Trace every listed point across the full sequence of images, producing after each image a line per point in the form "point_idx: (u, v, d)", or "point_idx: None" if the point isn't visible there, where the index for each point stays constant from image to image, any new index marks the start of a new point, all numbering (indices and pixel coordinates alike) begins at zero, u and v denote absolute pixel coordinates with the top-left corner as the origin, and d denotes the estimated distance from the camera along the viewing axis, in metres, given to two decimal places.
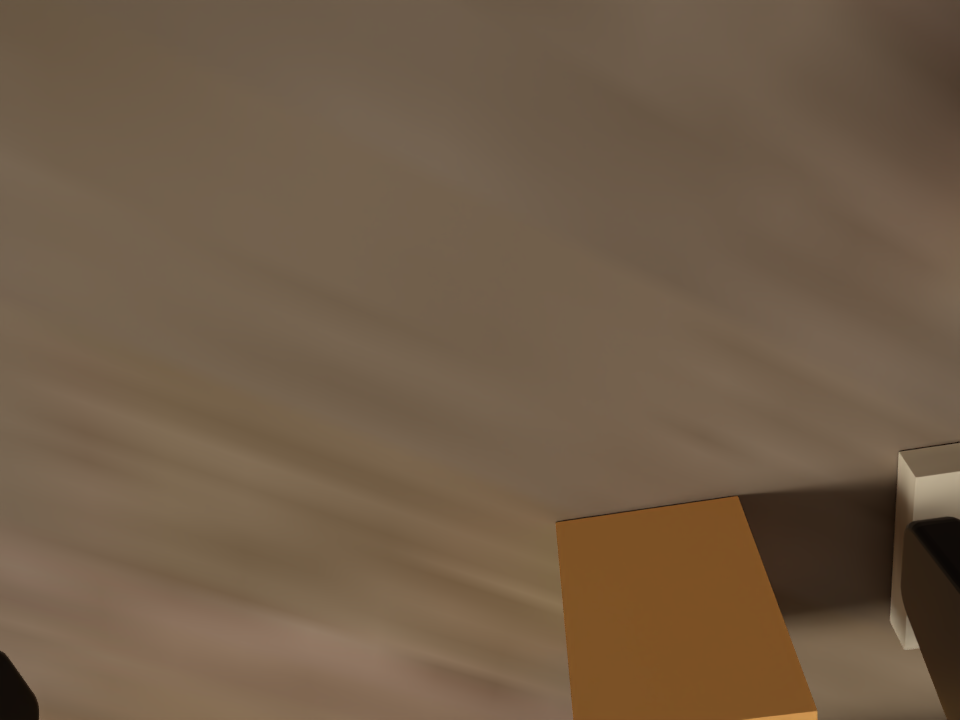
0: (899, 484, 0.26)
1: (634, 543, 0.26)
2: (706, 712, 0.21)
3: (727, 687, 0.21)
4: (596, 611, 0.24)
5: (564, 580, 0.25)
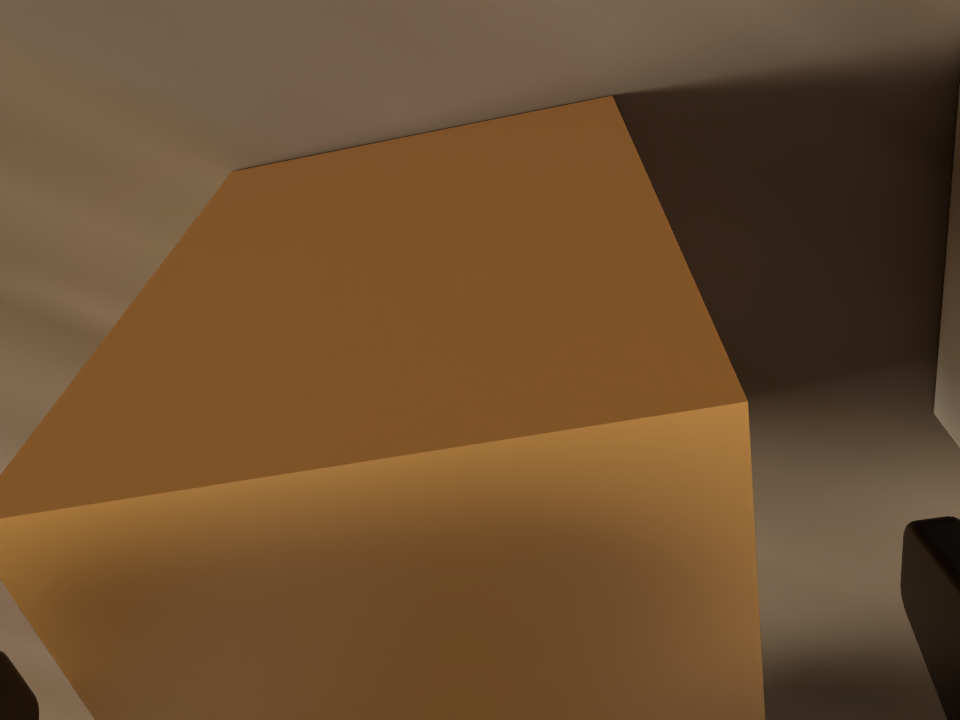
0: None
1: (368, 174, 0.11)
2: (386, 433, 0.06)
3: (474, 373, 0.07)
4: (220, 273, 0.09)
5: (187, 238, 0.11)
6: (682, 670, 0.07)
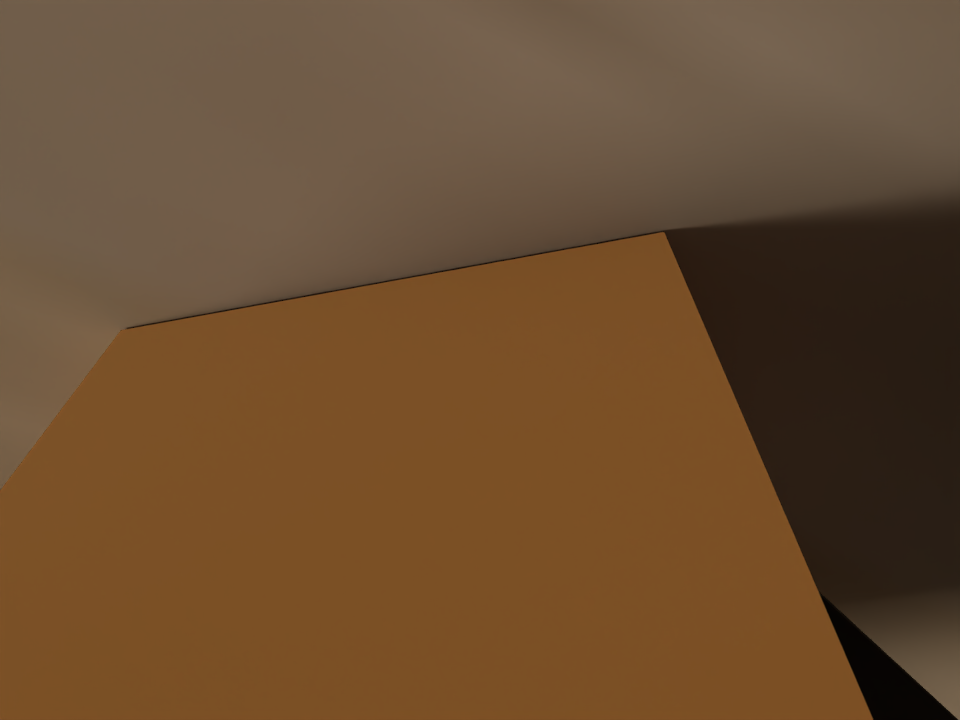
0: None
1: (304, 364, 0.08)
2: None
3: None
4: (34, 591, 0.06)
5: (17, 482, 0.07)
6: None
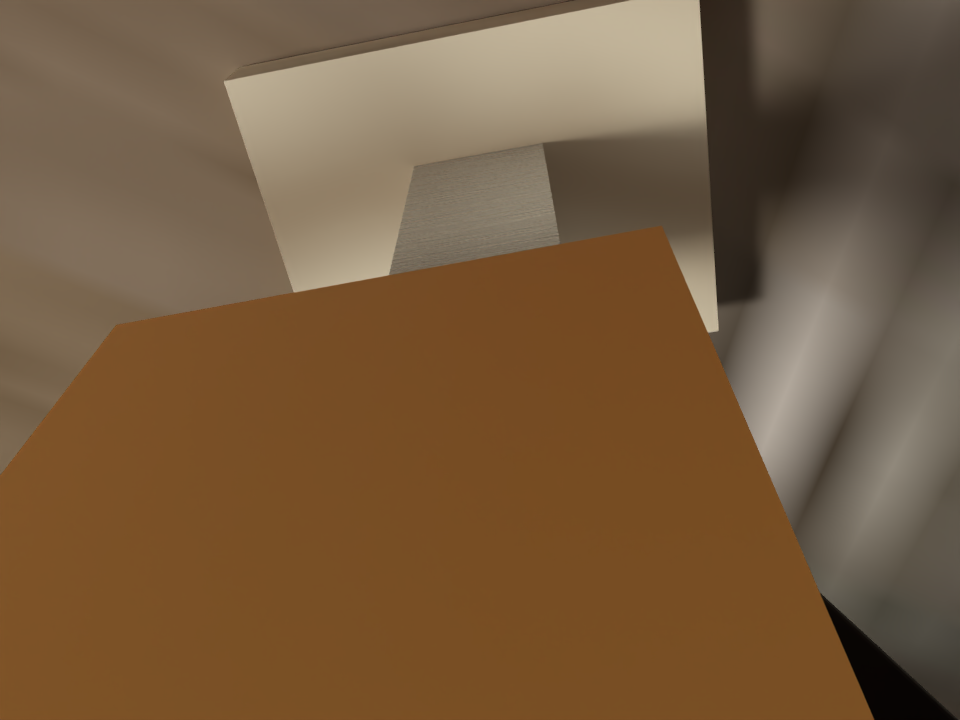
0: None
1: (299, 358, 0.08)
2: None
3: None
4: (27, 584, 0.06)
5: (10, 476, 0.07)
6: None
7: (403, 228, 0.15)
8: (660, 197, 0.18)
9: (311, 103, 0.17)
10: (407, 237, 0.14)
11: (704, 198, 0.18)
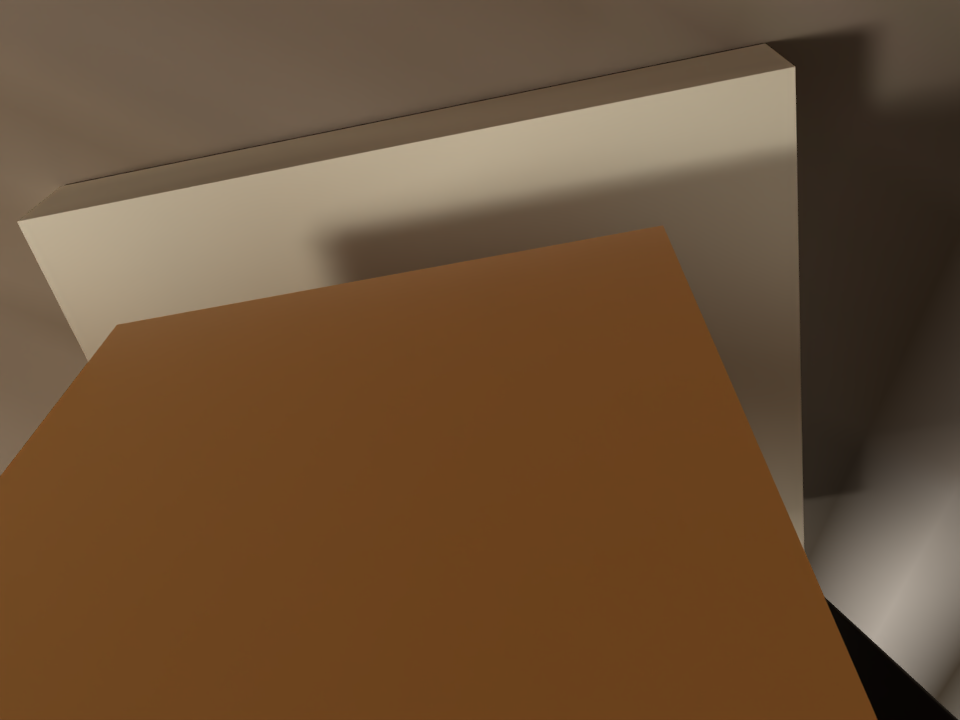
0: None
1: (301, 358, 0.07)
2: None
3: None
4: (28, 584, 0.06)
5: (11, 475, 0.07)
6: None
7: None
8: None
9: (160, 253, 0.10)
10: None
11: (791, 383, 0.11)
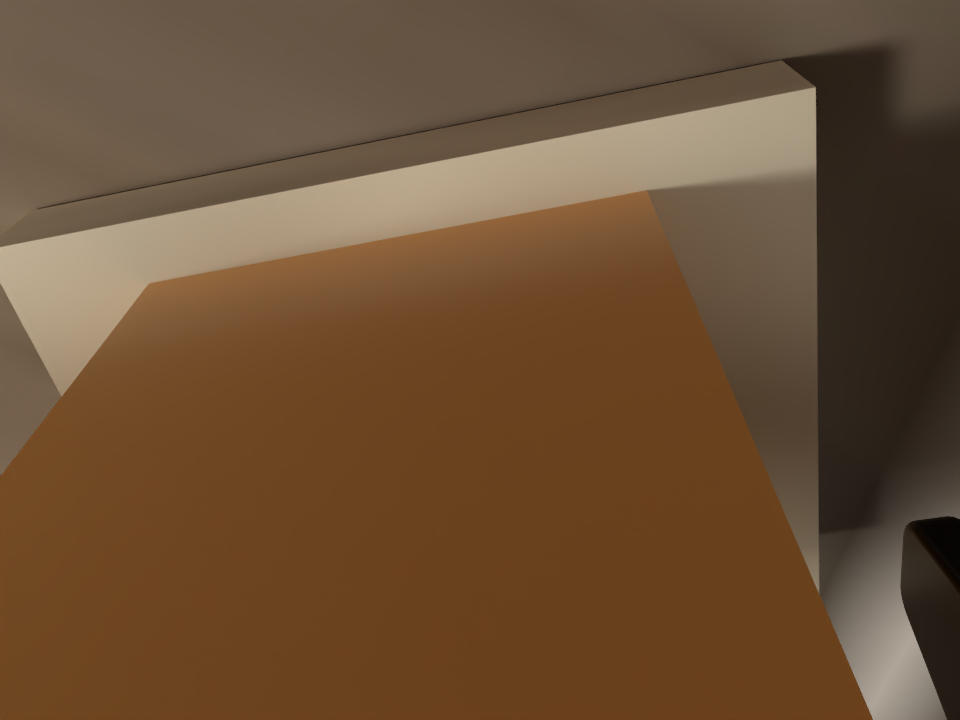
0: None
1: (319, 306, 0.08)
2: None
3: None
4: (88, 487, 0.06)
5: (63, 406, 0.08)
6: None
7: None
8: None
9: (136, 283, 0.10)
10: None
11: (807, 419, 0.11)
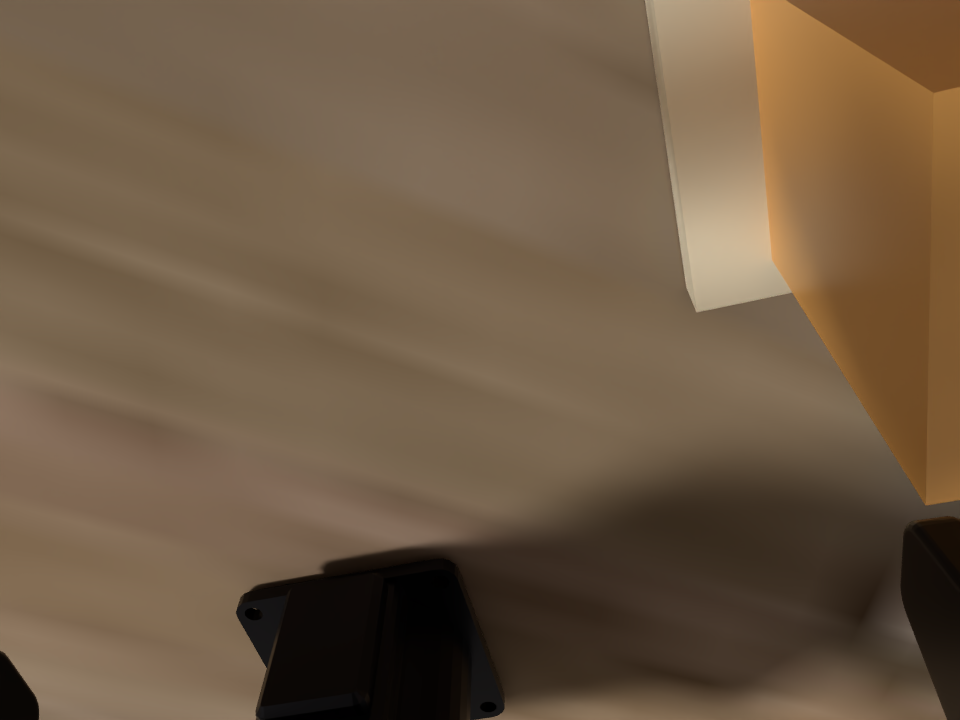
0: (648, 11, 0.17)
1: None
2: None
3: None
4: (882, 2, 0.12)
5: (795, 0, 0.13)
6: None
7: None
8: None
9: None
10: None
11: None
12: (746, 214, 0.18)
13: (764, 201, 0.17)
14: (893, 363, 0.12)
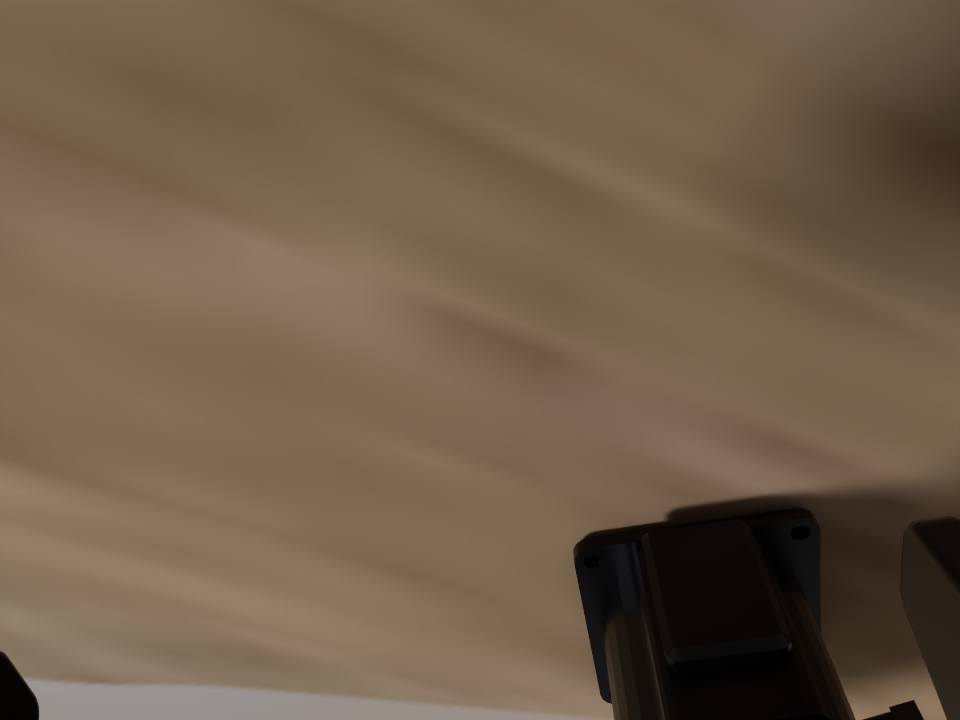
0: None
1: None
2: None
3: None
4: None
5: None
6: None
7: None
8: None
9: None
10: None
11: None
12: None
13: None
14: None
